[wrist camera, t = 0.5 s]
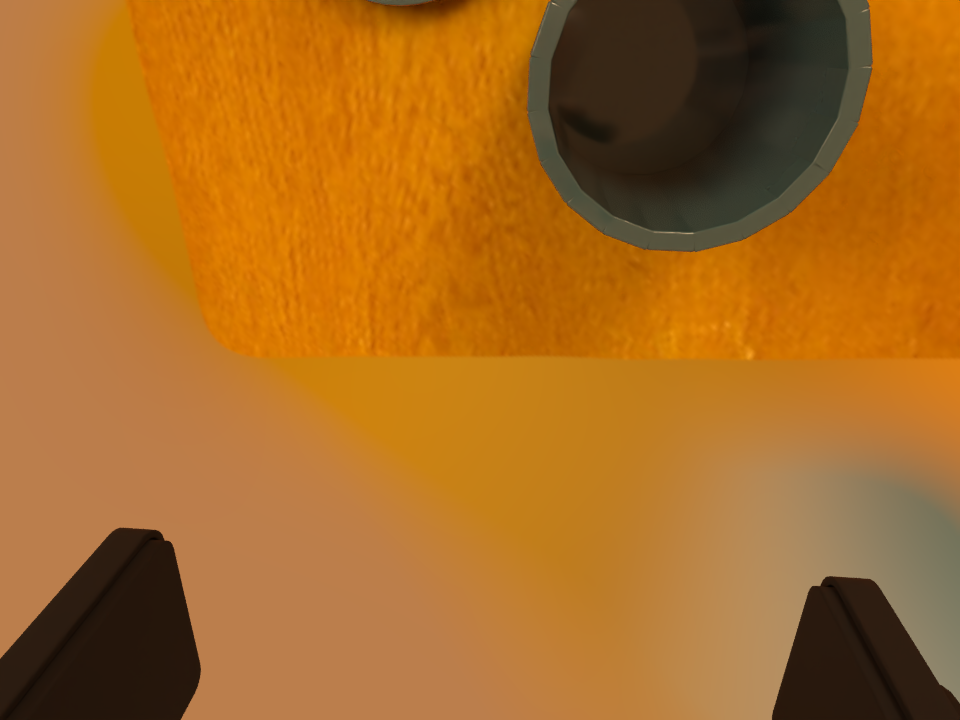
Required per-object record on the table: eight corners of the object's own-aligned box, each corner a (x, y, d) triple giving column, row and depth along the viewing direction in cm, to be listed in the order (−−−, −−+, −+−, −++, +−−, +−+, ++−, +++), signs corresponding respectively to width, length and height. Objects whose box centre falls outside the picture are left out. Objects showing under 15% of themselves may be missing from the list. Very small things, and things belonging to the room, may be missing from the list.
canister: (638, -115, 28) (694, -204, 18) (809, 50, 30) (948, 55, 20) (488, 95, 32) (462, 120, 22) (648, 228, 34) (694, 309, 24)
